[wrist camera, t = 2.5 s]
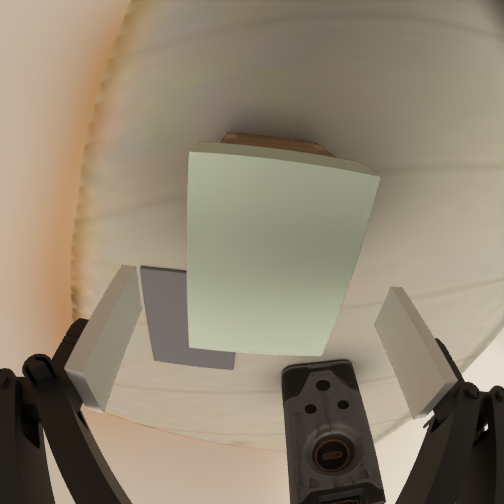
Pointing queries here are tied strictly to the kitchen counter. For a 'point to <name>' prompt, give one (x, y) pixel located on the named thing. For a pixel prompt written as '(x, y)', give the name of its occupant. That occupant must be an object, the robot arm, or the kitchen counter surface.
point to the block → (271, 246)
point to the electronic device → (328, 437)
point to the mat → (174, 321)
